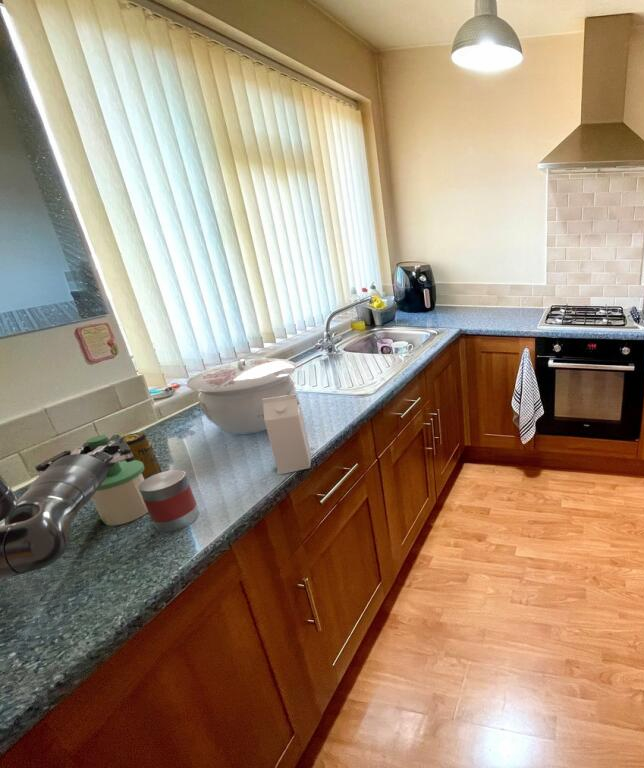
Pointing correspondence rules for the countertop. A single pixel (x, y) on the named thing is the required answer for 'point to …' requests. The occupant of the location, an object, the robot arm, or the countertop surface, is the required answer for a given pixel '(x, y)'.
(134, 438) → the condiment
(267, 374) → the chamber pot
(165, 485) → the tin
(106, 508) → the cup
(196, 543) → the countertop surface
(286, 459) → the milk carton
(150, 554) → the countertop surface
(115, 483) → the lid
